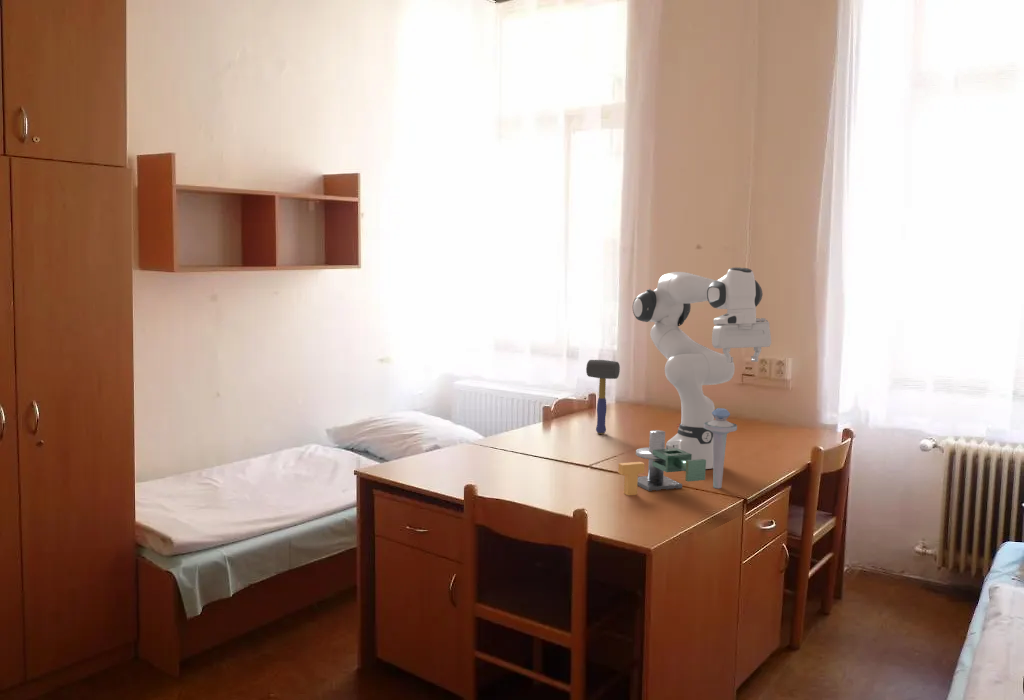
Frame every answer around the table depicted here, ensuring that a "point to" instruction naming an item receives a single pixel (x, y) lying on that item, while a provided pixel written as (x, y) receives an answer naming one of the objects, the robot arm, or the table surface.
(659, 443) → the bracket post
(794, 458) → the table surface
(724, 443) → the novelty light stick
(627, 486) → the yellow t-shaped block
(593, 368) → the rubber mallet
